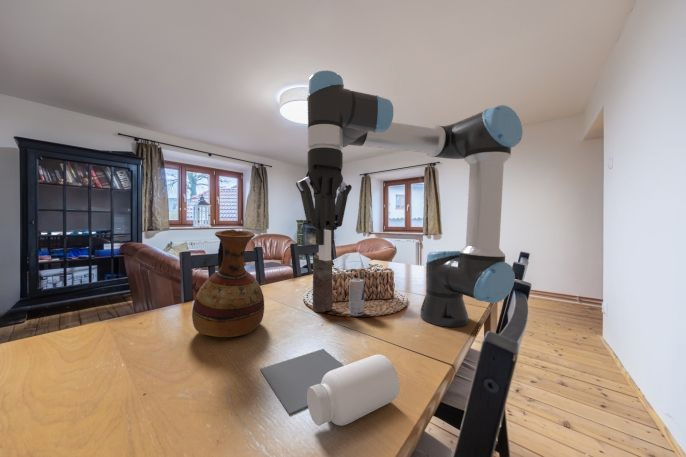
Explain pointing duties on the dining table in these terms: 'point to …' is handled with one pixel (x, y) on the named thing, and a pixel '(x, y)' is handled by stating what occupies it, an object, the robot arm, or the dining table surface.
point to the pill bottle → (353, 391)
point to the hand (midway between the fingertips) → (324, 259)
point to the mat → (298, 377)
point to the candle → (322, 285)
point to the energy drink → (356, 297)
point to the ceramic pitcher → (229, 292)
